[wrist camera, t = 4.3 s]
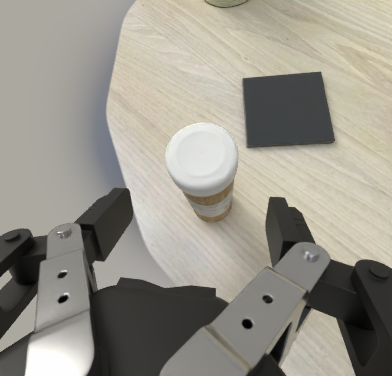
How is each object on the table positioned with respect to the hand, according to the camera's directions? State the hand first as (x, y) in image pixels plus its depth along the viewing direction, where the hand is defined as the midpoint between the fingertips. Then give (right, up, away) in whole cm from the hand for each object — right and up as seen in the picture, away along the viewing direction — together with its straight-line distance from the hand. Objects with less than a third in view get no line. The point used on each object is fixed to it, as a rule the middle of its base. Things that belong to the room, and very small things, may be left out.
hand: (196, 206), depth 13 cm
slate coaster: (+11, +11, +16) cm, 22 cm away
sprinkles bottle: (+2, -1, +14) cm, 14 cm away
